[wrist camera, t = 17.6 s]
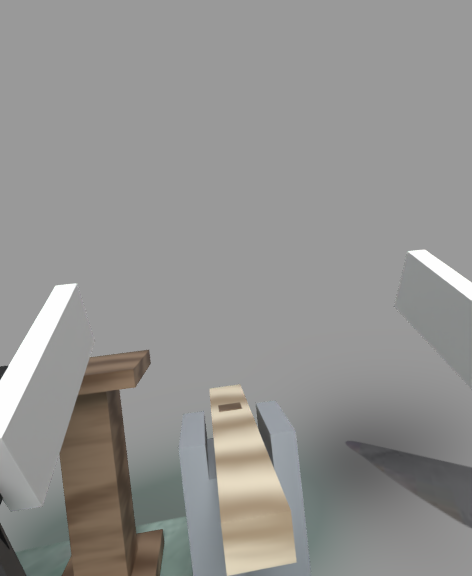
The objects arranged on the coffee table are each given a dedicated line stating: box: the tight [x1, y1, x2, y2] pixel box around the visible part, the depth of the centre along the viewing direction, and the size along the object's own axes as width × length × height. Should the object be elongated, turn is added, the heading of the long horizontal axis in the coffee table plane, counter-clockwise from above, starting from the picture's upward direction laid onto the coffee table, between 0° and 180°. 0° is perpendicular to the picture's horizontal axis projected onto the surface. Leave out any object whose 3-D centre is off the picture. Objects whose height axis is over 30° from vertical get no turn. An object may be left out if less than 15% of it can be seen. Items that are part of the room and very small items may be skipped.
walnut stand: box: [59, 350, 164, 576], centre depth 44 cm, size 12×14×28 cm
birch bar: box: [210, 385, 297, 576], centre depth 33 cm, size 26×4×3 cm, turn 6°
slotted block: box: [179, 401, 311, 576], centre depth 34 cm, size 8×10×23 cm
